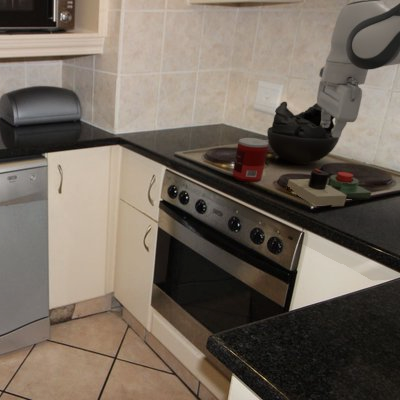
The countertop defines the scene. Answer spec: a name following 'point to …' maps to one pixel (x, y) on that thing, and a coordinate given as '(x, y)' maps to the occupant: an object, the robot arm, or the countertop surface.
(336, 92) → the robot arm
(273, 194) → the countertop surface
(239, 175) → the canned food
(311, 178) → the oven knob
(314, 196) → the panel
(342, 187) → the button housing
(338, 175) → the button
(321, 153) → the coal bowl
